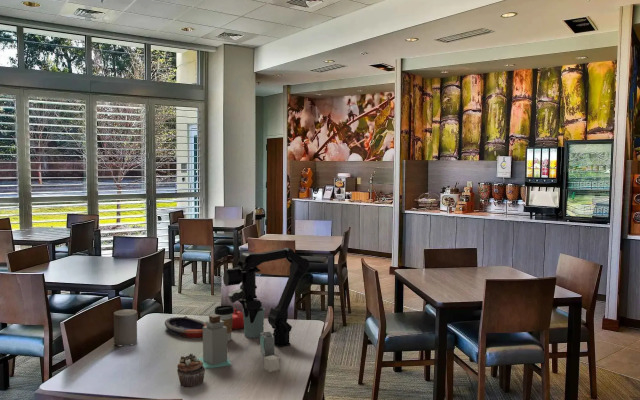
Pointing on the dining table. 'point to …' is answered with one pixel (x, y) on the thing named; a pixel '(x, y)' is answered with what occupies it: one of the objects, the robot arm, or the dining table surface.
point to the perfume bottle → (214, 341)
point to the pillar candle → (125, 327)
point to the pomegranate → (237, 320)
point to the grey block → (271, 363)
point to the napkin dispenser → (267, 344)
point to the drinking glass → (254, 324)
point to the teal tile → (214, 365)
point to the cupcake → (190, 371)
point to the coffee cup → (226, 317)
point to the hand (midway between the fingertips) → (249, 320)
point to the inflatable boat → (185, 327)
